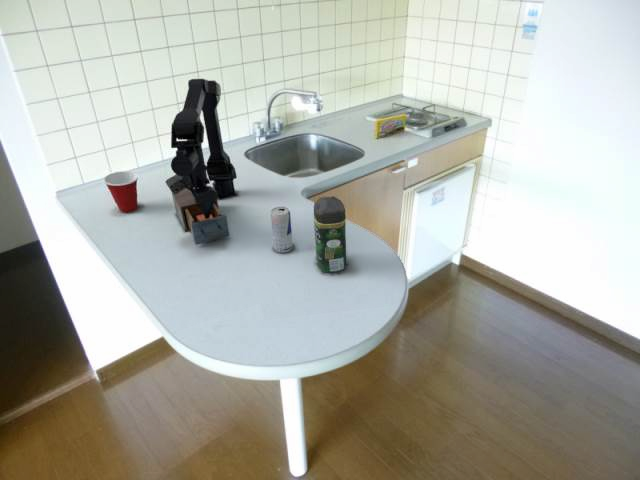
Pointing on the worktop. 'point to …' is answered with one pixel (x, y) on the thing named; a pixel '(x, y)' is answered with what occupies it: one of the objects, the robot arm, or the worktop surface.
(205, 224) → the drawer
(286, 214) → the energy drink
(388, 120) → the candy box
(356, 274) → the worktop surface
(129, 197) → the plastic cup
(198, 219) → the block
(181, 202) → the cabinet
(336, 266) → the coffee jar
